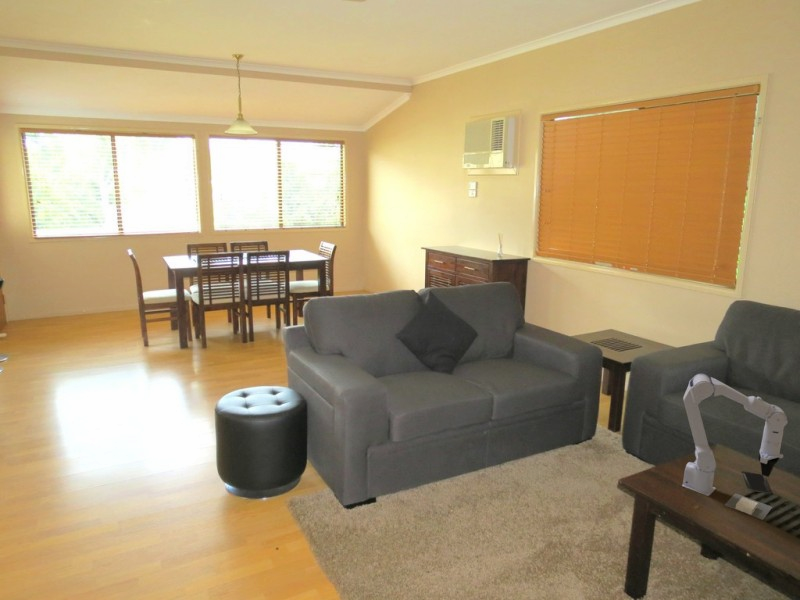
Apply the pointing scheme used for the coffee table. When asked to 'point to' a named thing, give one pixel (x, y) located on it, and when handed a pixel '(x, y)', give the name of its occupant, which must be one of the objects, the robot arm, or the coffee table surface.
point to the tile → (746, 506)
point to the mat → (758, 513)
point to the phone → (756, 482)
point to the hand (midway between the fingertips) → (765, 475)
